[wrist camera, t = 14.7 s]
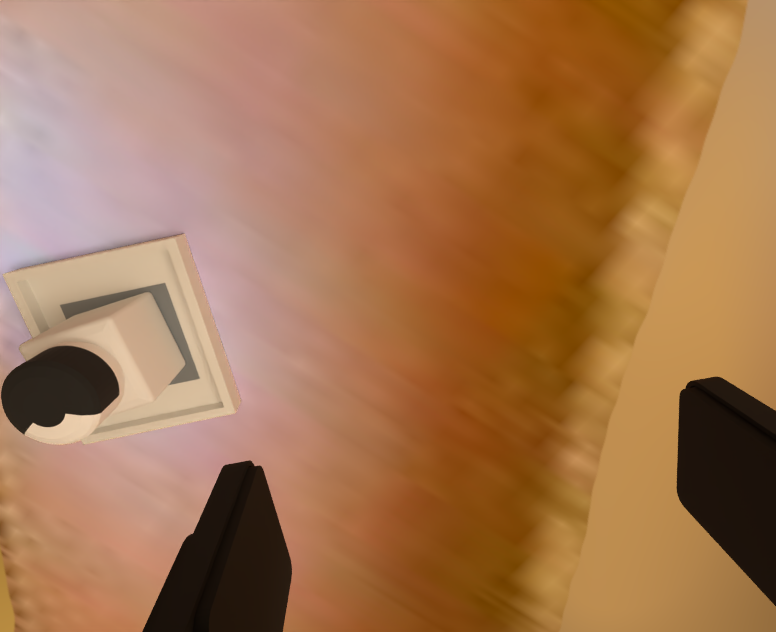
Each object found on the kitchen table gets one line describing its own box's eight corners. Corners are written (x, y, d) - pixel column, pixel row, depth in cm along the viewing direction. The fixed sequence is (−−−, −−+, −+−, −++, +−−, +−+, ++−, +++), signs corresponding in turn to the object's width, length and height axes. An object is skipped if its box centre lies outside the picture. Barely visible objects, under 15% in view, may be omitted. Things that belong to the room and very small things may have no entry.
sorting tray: (21, 268, 40) (2, 274, 38) (184, 233, 40) (174, 237, 38) (96, 431, 45) (83, 444, 43) (241, 401, 45) (235, 413, 43)
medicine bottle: (72, 315, 40) (-42, 377, 29) (151, 289, 40) (68, 342, 29) (113, 387, 42) (22, 471, 31) (188, 364, 42) (124, 440, 31)
